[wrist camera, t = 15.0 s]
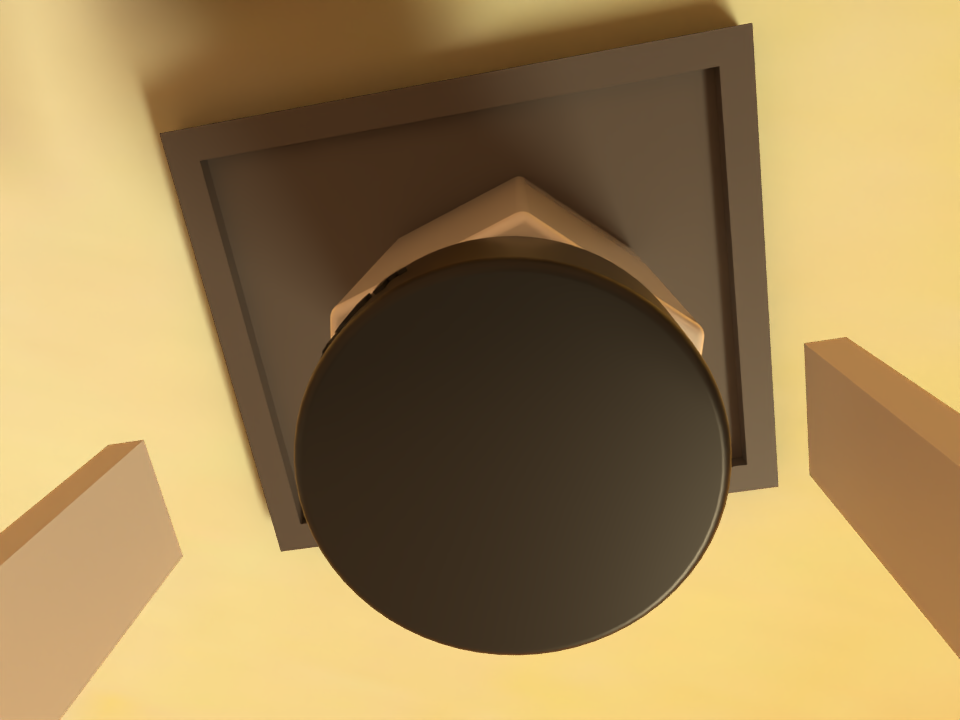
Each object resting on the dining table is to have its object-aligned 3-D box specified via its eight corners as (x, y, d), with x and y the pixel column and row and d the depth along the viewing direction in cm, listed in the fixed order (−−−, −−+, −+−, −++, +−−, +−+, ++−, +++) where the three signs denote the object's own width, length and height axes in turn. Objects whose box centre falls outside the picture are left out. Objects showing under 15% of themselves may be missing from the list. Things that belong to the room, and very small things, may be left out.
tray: (739, 27, 23) (752, 22, 21) (767, 471, 27) (778, 486, 26) (176, 132, 24) (159, 133, 23) (290, 534, 29) (280, 551, 28)
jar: (389, 169, 24) (276, 219, 12) (647, 181, 24) (773, 244, 12) (388, 428, 27) (295, 664, 15) (618, 441, 26) (698, 690, 15)
